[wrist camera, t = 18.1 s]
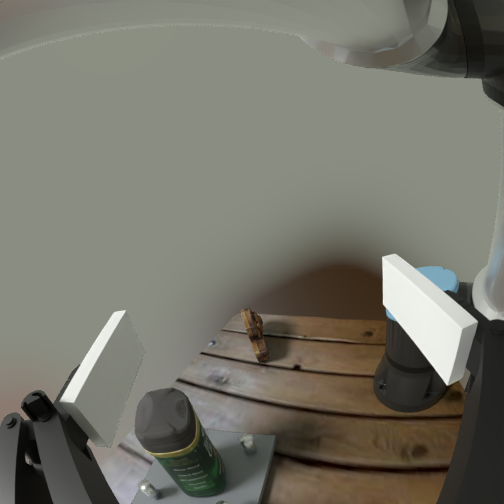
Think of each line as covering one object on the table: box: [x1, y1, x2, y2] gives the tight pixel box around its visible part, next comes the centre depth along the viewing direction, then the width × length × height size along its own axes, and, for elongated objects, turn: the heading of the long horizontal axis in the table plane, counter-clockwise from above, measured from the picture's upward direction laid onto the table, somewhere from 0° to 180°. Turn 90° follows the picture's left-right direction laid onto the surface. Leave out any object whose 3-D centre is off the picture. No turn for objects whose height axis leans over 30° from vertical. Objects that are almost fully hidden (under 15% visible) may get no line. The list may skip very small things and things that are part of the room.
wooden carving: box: [241, 308, 269, 363], centre depth 69 cm, size 16×5×10 cm, turn 14°
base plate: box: [131, 429, 277, 504], centre depth 37 cm, size 20×20×6 cm
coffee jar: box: [135, 388, 226, 497], centre depth 34 cm, size 10×8×19 cm
